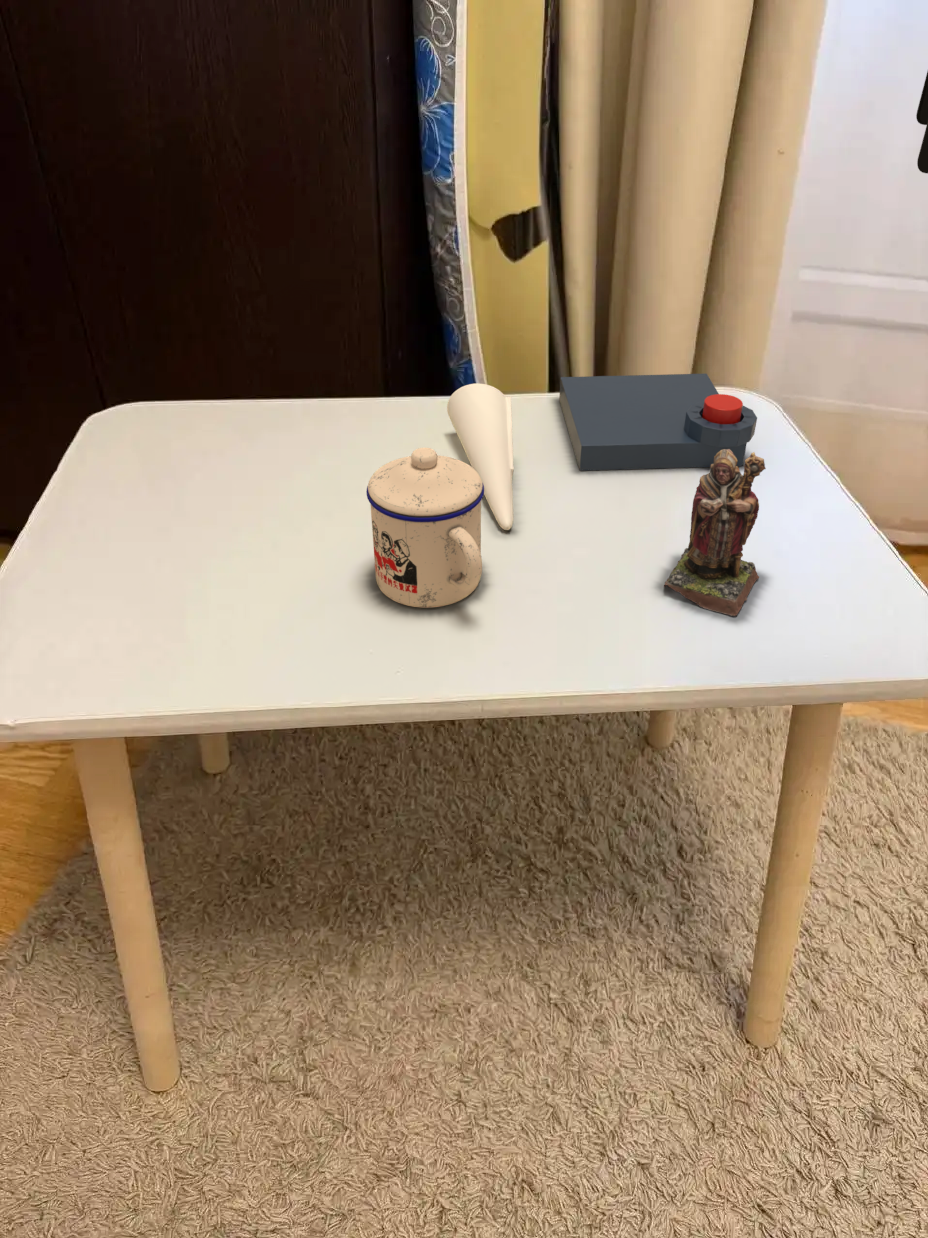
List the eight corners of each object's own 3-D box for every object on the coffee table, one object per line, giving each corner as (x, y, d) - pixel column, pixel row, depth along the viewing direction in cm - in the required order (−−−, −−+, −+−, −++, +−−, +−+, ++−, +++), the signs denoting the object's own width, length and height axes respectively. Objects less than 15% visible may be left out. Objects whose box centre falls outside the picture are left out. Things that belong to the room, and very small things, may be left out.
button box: (712, 396, 109) (718, 357, 107) (756, 471, 96) (764, 428, 93) (559, 400, 109) (561, 360, 106) (581, 476, 95) (584, 433, 92)
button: (734, 409, 97) (737, 393, 96) (744, 426, 94) (747, 409, 93) (698, 410, 97) (700, 394, 96) (707, 427, 94) (709, 410, 93)
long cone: (440, 548, 88) (444, 429, 102) (511, 554, 89) (506, 434, 103) (445, 496, 84) (449, 380, 98) (519, 502, 85) (513, 386, 99)
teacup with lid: (353, 569, 83) (342, 443, 76) (446, 537, 87) (444, 415, 80) (426, 645, 75) (421, 512, 68) (525, 606, 78) (530, 477, 71)
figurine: (683, 556, 84) (702, 427, 77) (760, 576, 82) (786, 445, 74) (657, 595, 80) (675, 461, 72) (737, 617, 77) (763, 482, 70)
